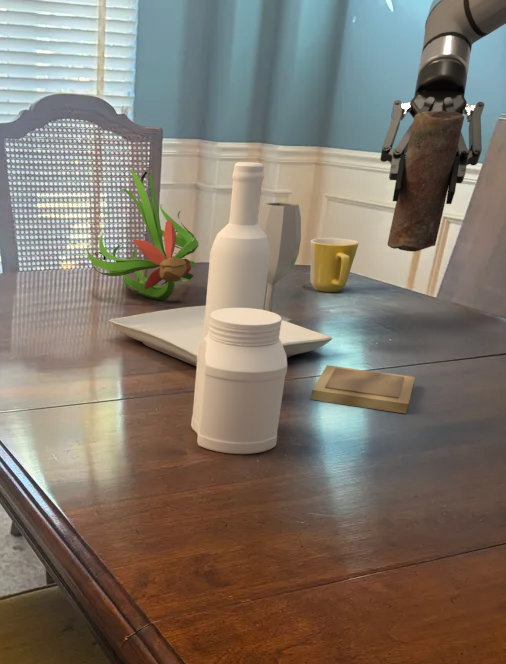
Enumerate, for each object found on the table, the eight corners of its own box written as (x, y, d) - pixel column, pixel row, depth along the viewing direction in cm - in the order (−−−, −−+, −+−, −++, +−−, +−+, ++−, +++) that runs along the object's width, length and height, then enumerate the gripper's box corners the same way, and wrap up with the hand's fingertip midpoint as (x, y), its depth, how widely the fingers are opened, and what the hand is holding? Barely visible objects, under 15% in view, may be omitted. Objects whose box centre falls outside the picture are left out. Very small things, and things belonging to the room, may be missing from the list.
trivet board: (413, 386, 116) (415, 375, 115) (406, 414, 105) (409, 402, 104) (325, 374, 120) (327, 363, 119) (310, 399, 109) (312, 388, 109)
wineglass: (234, 322, 147) (246, 203, 137) (262, 315, 152) (276, 200, 142) (270, 331, 142) (286, 208, 131) (299, 324, 147) (316, 205, 136)
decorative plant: (136, 341, 154) (79, 303, 177) (244, 306, 160) (175, 273, 183) (117, 205, 138) (58, 182, 161) (238, 171, 144) (164, 154, 167)
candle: (440, 250, 127) (470, 111, 117) (428, 256, 122) (458, 111, 112) (394, 245, 131) (418, 110, 121) (380, 251, 125) (405, 111, 115)
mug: (301, 284, 179) (308, 236, 174) (346, 286, 178) (354, 238, 173) (307, 297, 168) (315, 246, 162) (355, 299, 167) (364, 248, 161)
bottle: (224, 408, 106) (249, 166, 91) (186, 392, 111) (204, 161, 96) (265, 397, 110) (295, 164, 95) (226, 382, 115) (249, 160, 100)
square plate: (207, 382, 115) (209, 357, 113) (105, 339, 135) (106, 316, 133) (331, 356, 128) (335, 333, 126) (222, 320, 148) (224, 300, 146)
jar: (188, 419, 102) (197, 303, 94) (260, 420, 102) (275, 304, 95) (201, 454, 92) (213, 328, 84) (280, 454, 92) (299, 329, 85)
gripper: (502, 97, 125) (487, 216, 120) (374, 95, 130) (353, 209, 125) (516, 57, 118) (500, 182, 113) (380, 57, 123) (358, 176, 118)
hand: (423, 196), depth 119 cm, fingers closed on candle, 7 cm apart
